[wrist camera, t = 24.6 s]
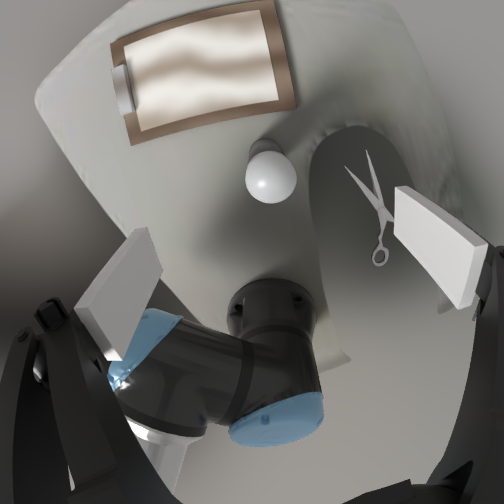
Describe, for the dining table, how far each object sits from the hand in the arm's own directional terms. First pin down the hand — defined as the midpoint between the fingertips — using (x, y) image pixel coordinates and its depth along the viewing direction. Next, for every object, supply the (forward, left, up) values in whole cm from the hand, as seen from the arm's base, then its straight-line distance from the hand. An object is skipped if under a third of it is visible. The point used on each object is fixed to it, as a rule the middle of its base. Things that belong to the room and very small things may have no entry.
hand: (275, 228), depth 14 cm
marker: (0, 0, -24) cm, 24 cm away
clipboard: (+13, +6, -24) cm, 28 cm away
